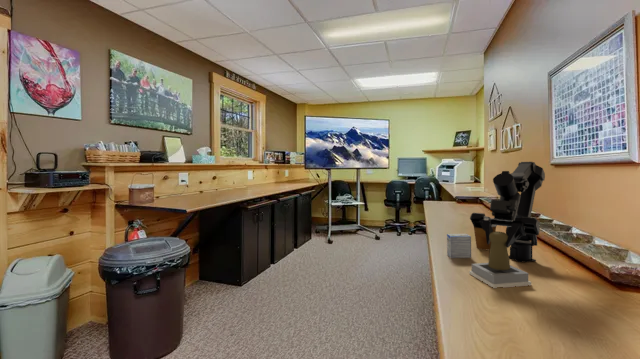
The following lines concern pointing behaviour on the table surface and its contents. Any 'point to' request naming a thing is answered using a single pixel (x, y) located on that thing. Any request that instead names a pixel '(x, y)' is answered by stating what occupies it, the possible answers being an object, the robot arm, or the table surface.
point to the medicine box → (459, 245)
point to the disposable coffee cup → (482, 238)
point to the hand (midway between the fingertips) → (497, 245)
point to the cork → (498, 251)
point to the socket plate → (500, 276)
